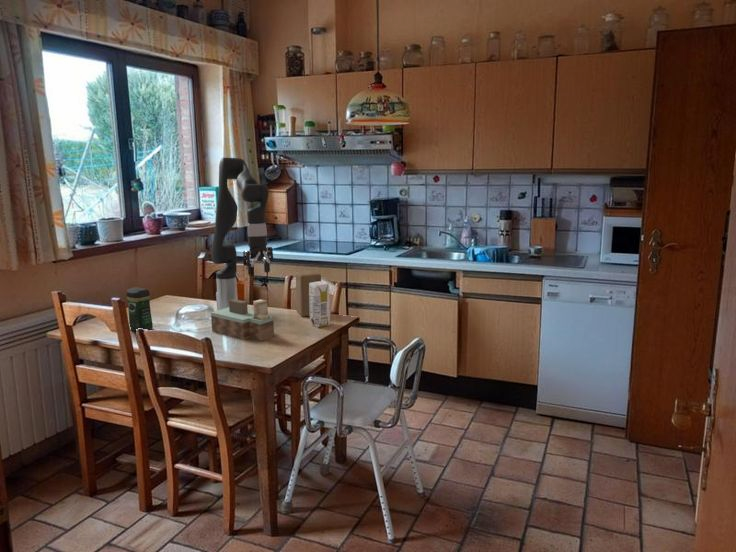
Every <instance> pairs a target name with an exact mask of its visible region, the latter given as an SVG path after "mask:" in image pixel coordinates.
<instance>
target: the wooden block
mask: <svg viewBox="0 0 736 552" xmlns="http://www.w3.org/2000/svg"><path fill="white" fill-rule="evenodd" d="M319 281H322V274H321V273H319V272H318V271H317V270H305V271H302V270H301V271H296V272H295V290H296V291H295V292H296V293H295V296H296V297H295V300H296V313H297V314H298V315H300V316H301V317H302V318H306V317H305V316H308V317H310V310H309V283H312V282H319Z"/></svg>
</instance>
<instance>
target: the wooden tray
mask: <svg viewBox="0 0 736 552" xmlns="http://www.w3.org/2000/svg"><path fill="white" fill-rule="evenodd" d="M210 318H211V319H210V320H211V332H212V333H216V334H220V335H224V336H227V335H228V337H231V336H232V337H231V338H236V339H240V340H244V341H245V340H248V339H253V340H256V341H261V342H264V341H265V340H269V339H271V338H274V337H275V331H274V329H275V328H274V327H275V325H274V323H275V322H274V320H273V321H270V322H267V323H264V324H257V323H252V322H246V323H240V322H235V321H231V320H227V319H223V318H218V317H214V316H211V315H210Z"/></svg>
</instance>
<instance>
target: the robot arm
mask: <svg viewBox="0 0 736 552" xmlns="http://www.w3.org/2000/svg"><path fill="white" fill-rule="evenodd" d="M249 169H250V168H248V165H247V163H246V161H245V160H244V159H243V158H238V157H227V156H226V157H224V156H223V157H221V158H220V161H219V165H218V192H217V193H218V194H217V200H216V201H217V203H216V209H215V223H214V232H213V233H214V234H213V238H212V244H211V252H210V256H211V261H212V263H213V264H214V265H223V264H225V265H224V266H223V267H222V268H220V269H219V270H217V271H216V272H215V278H216V293H215V297H216V311H218V310H221V309H225V308H228V307H229V300H233V299H236V300H239V299H238V284H237V271H238V270H237V269H238V268H237V267H238V266H237V263H238V261H237V259H238V258H237V249H236V246H235V244H233V243H224V241H225V239H226V236H227V235H228V234H229V232H230V231H231V230H232V228H233V227H234V225H235V224H236V222H237V216H238V205H237V201H236V200H235V198H234V197H233V195H232V193H231V191H230V188H229V187H228V186H229V185H228V180H236V184H237V187H238V189H240V191H241V197H242V200H243V202H246V203H258V204H257V205H256V206H254V207H251V208H248V209H247V211H246V217H247V243H248V247H249V250H243V252H242V256H243V257H242V259H243V263H242V265H243V266H244V267H247V273H248V276H249V277H254V276H255V267H254V265H255V264H256V262H257V261H259V260H262V261H263V269H264V271H263V272H264V273H266V274H267V273H270V271H271V267H270V266H271V262H274V253H273V252H274V250H273V247H272V246H268V233H267V232H268V231H267V224H266V209H267V204H268V200H269V194H270V192H269V188H268V186H267V185H266V184H265V183H258V182H257V181H256V179H255V178H254V177H253V176H252V175H251V171H250V170H249Z"/></svg>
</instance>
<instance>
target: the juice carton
mask: <svg viewBox="0 0 736 552" xmlns="http://www.w3.org/2000/svg"><path fill="white" fill-rule="evenodd" d="M330 297H331V296H330V284H329V283H326V282H324V281H322V280H321V281H319V282H312V283H309V310H310V316H309V323H310V325H311V324H312V325H311V326H313V325H314V327H315V328H317V329H319V328H318V327H320V328H324V327H323V326H325V327H329V325H330V324H331V300H330V299H331V298H330Z"/></svg>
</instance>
